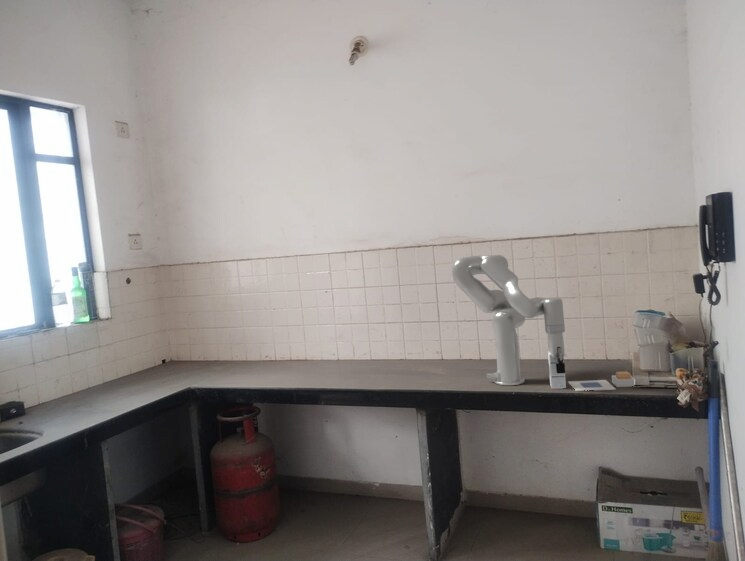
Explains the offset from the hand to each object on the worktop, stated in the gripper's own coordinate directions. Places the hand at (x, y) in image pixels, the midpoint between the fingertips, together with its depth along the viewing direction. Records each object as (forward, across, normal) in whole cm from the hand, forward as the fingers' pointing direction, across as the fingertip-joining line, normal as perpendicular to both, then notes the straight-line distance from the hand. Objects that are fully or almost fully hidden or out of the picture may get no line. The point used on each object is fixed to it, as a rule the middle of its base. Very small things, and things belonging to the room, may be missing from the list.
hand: (558, 370), depth 225 cm
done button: (+5, 0, +25) cm, 25 cm away
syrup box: (+7, 0, -1) cm, 7 cm away
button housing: (+8, 0, +25) cm, 26 cm away
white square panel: (+7, 0, +12) cm, 14 cm away
